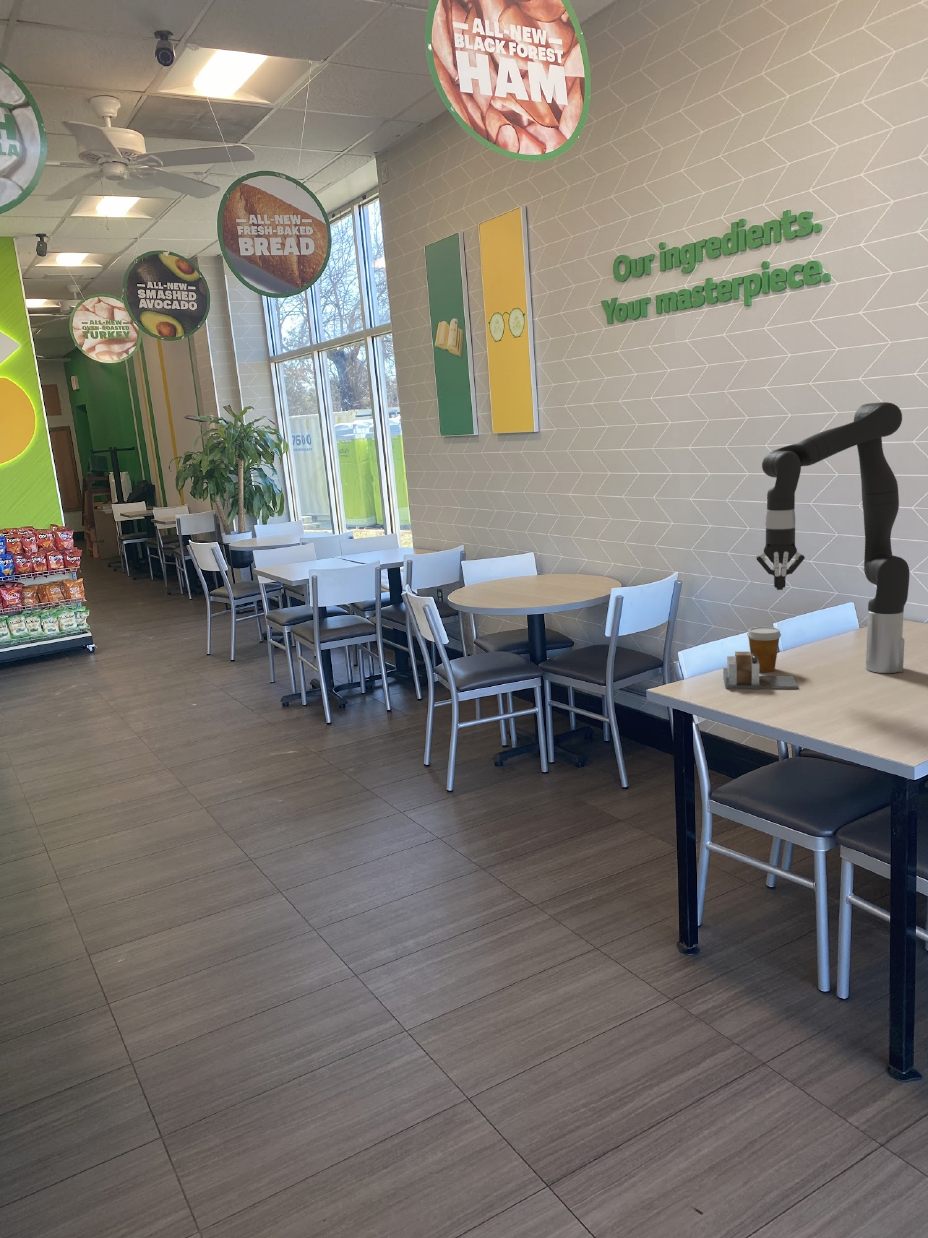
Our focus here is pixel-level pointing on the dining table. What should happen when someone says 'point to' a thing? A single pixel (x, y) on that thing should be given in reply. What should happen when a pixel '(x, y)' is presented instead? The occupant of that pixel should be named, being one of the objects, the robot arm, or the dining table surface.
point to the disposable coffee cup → (764, 646)
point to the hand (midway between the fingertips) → (779, 589)
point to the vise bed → (764, 681)
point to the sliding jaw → (754, 670)
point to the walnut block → (743, 667)
